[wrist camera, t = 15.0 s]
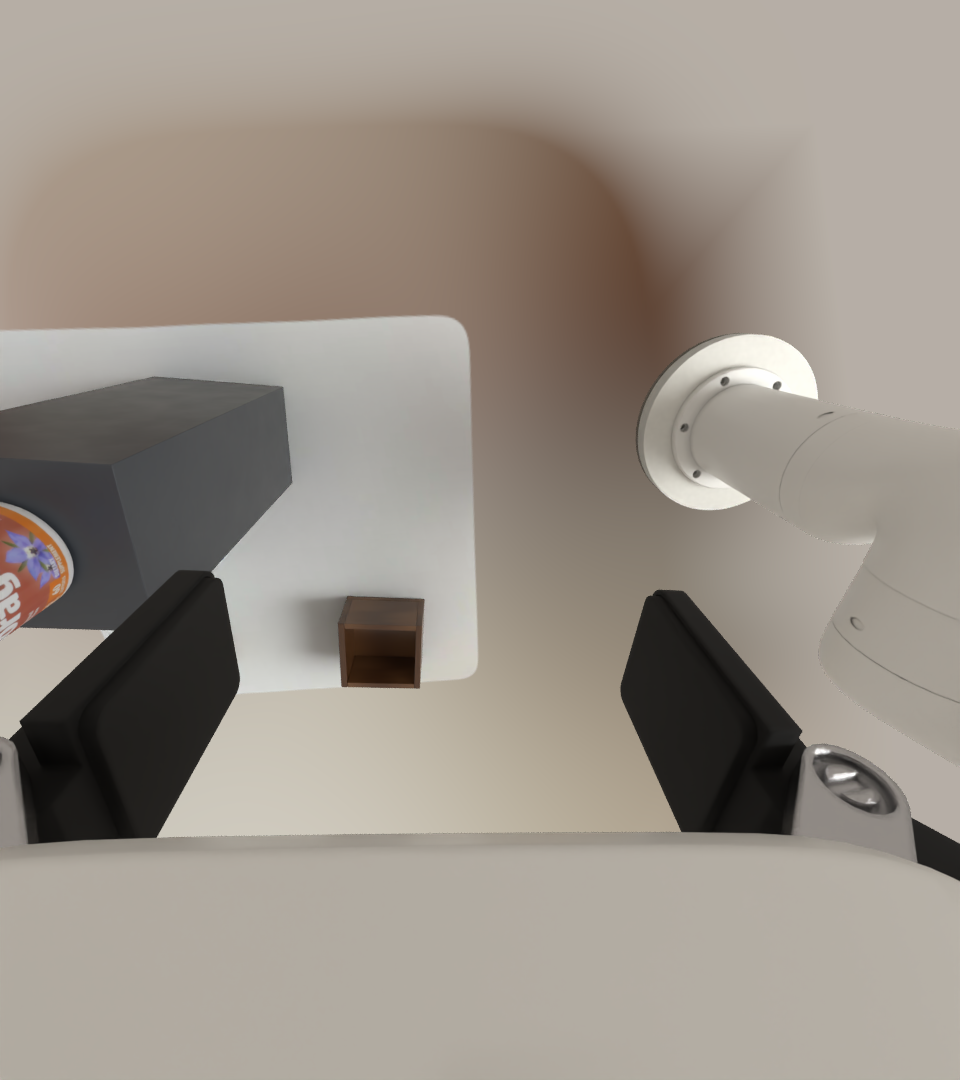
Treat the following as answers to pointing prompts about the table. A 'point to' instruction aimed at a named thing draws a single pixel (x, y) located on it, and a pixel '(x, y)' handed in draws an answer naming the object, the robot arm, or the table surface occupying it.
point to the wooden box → (381, 642)
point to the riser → (143, 483)
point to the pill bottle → (29, 567)
